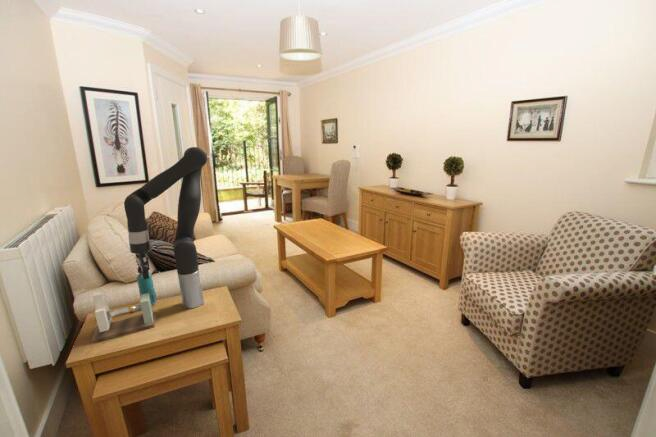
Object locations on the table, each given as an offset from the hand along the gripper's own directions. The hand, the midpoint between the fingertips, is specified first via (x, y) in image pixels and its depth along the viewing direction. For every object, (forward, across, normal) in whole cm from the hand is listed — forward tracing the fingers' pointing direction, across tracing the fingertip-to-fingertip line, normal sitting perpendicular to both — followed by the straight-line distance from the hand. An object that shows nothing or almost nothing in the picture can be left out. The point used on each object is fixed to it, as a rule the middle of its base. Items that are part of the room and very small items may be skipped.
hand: (144, 275), depth 137 cm
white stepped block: (+17, -2, +16) cm, 24 cm away
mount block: (+18, -5, +1) cm, 19 cm away
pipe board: (+20, -3, +10) cm, 23 cm away
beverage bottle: (+20, +11, -2) cm, 23 cm away
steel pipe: (+14, -3, +10) cm, 17 cm away
